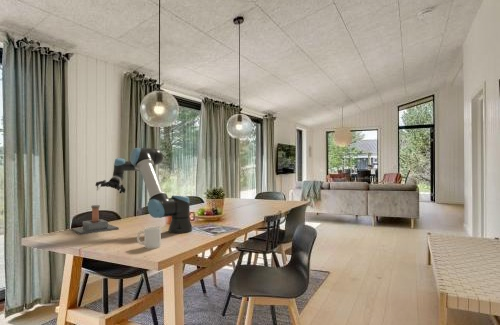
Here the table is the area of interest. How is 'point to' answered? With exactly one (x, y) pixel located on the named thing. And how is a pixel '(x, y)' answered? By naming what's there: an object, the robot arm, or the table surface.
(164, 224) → the table surface
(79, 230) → the hitch plate
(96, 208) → the pin
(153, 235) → the cup
